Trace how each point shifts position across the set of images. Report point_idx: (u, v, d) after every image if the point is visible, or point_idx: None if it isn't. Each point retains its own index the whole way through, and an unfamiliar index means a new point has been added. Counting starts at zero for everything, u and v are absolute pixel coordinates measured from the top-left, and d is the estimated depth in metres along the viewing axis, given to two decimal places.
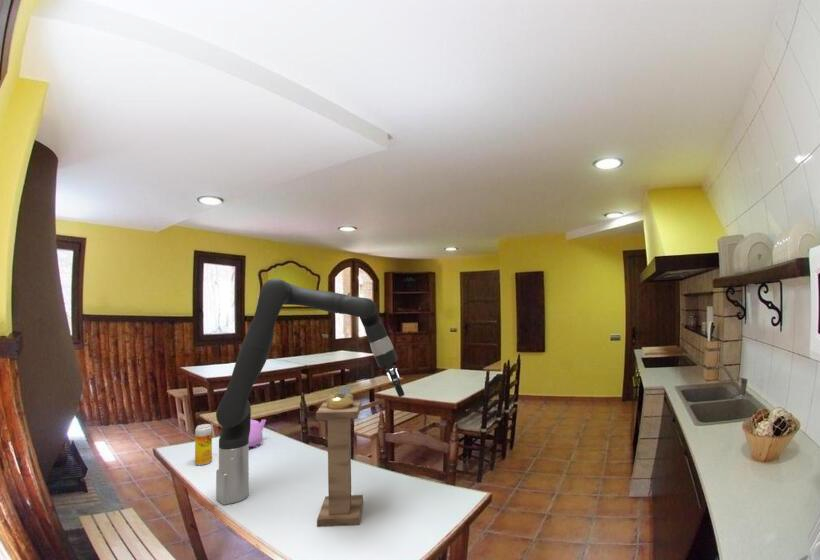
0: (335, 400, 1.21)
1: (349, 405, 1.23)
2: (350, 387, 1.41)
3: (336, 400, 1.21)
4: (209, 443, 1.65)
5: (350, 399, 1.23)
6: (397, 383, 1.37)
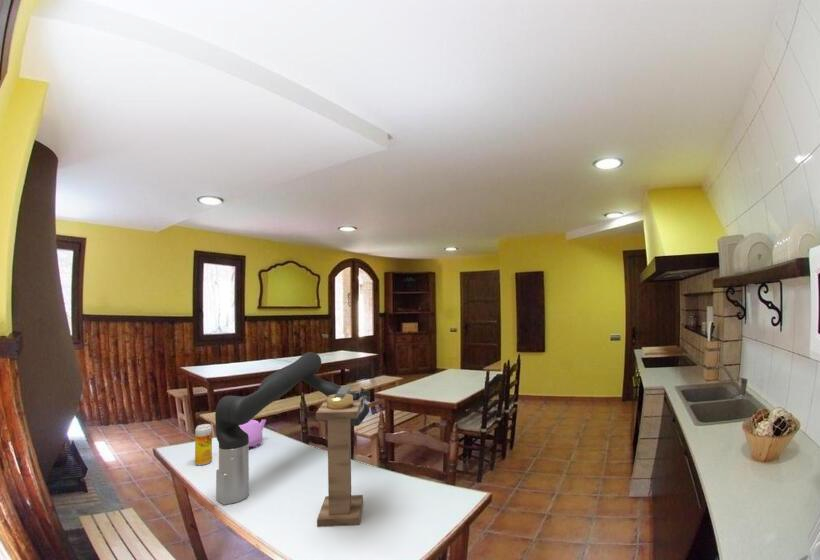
0: (335, 400, 1.21)
1: (349, 405, 1.23)
2: (350, 387, 1.41)
3: (336, 400, 1.21)
4: (209, 443, 1.65)
5: (350, 399, 1.23)
6: (369, 394, 1.57)
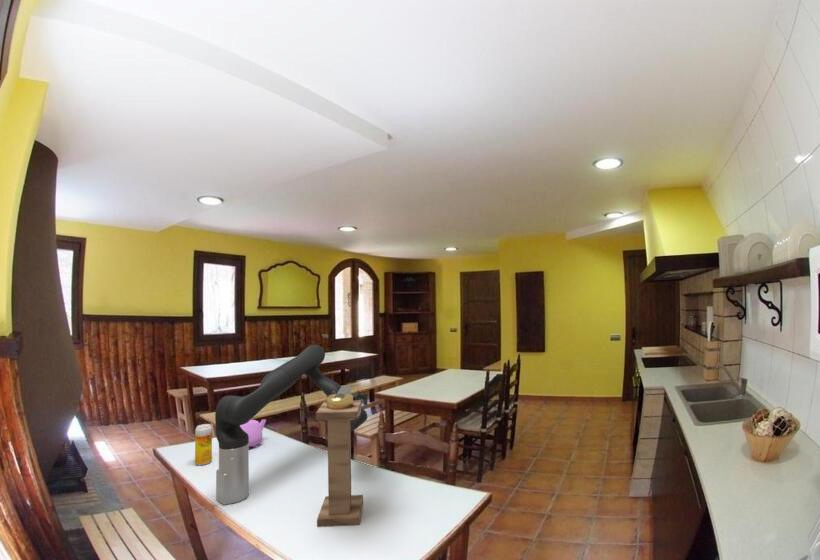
0: (335, 400, 1.21)
1: (349, 405, 1.23)
2: (350, 387, 1.41)
3: (336, 400, 1.21)
4: (209, 443, 1.65)
5: (350, 399, 1.23)
6: (367, 398, 1.45)
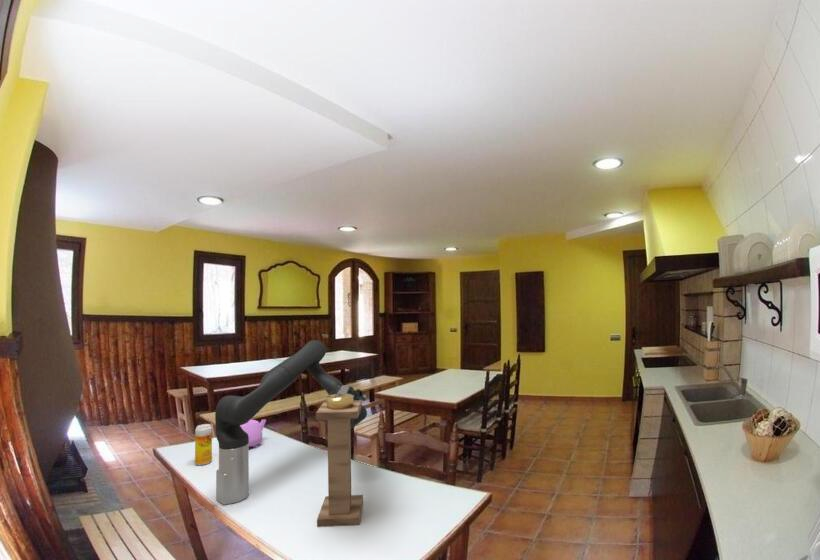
0: (335, 400, 1.21)
1: (349, 405, 1.23)
2: None
3: (336, 400, 1.21)
4: (209, 443, 1.65)
5: (350, 399, 1.23)
6: (359, 393, 1.41)
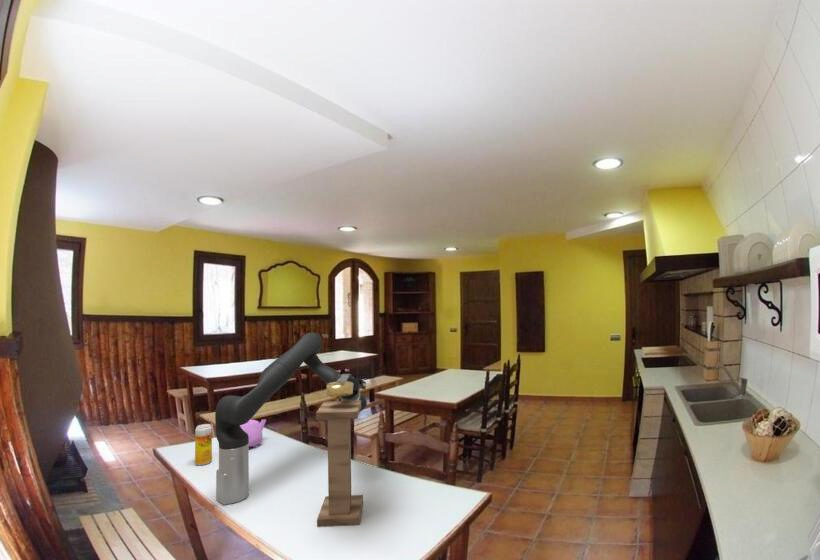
0: (335, 387, 1.21)
1: (349, 392, 1.23)
2: None
3: (336, 387, 1.21)
4: (209, 443, 1.65)
5: (350, 386, 1.24)
6: (358, 382, 1.41)
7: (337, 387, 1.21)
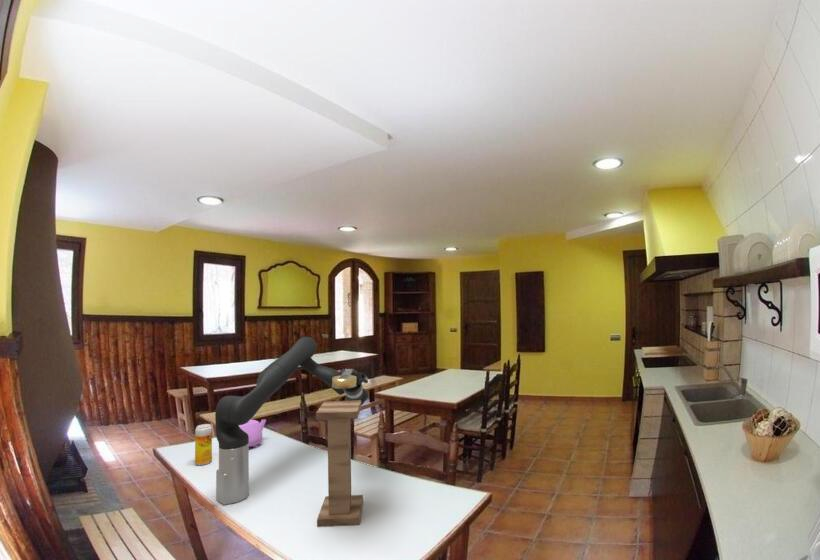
0: (340, 380, 1.32)
1: (353, 385, 1.34)
2: None
3: (341, 380, 1.32)
4: (209, 443, 1.65)
5: (354, 379, 1.35)
6: (361, 376, 1.52)
7: (342, 380, 1.32)
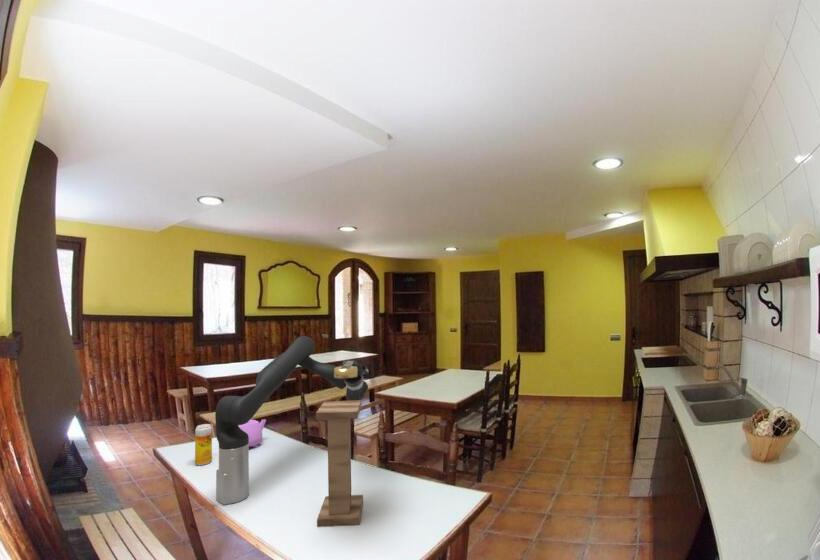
0: (342, 370, 1.37)
1: (354, 375, 1.39)
2: None
3: (342, 370, 1.37)
4: (209, 443, 1.65)
5: (355, 370, 1.39)
6: (362, 367, 1.57)
7: (343, 370, 1.37)
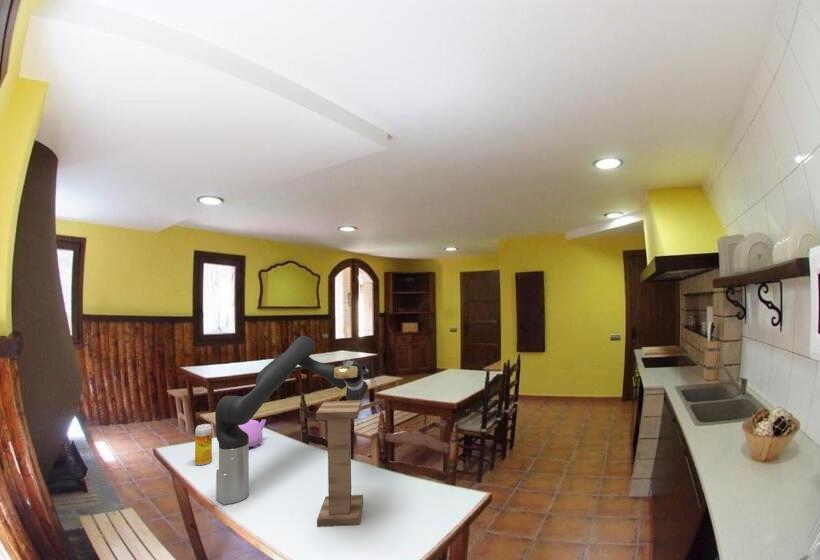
0: (342, 370, 1.37)
1: (354, 375, 1.39)
2: None
3: (342, 370, 1.37)
4: (209, 443, 1.65)
5: (355, 370, 1.39)
6: (362, 367, 1.57)
7: (343, 370, 1.37)
